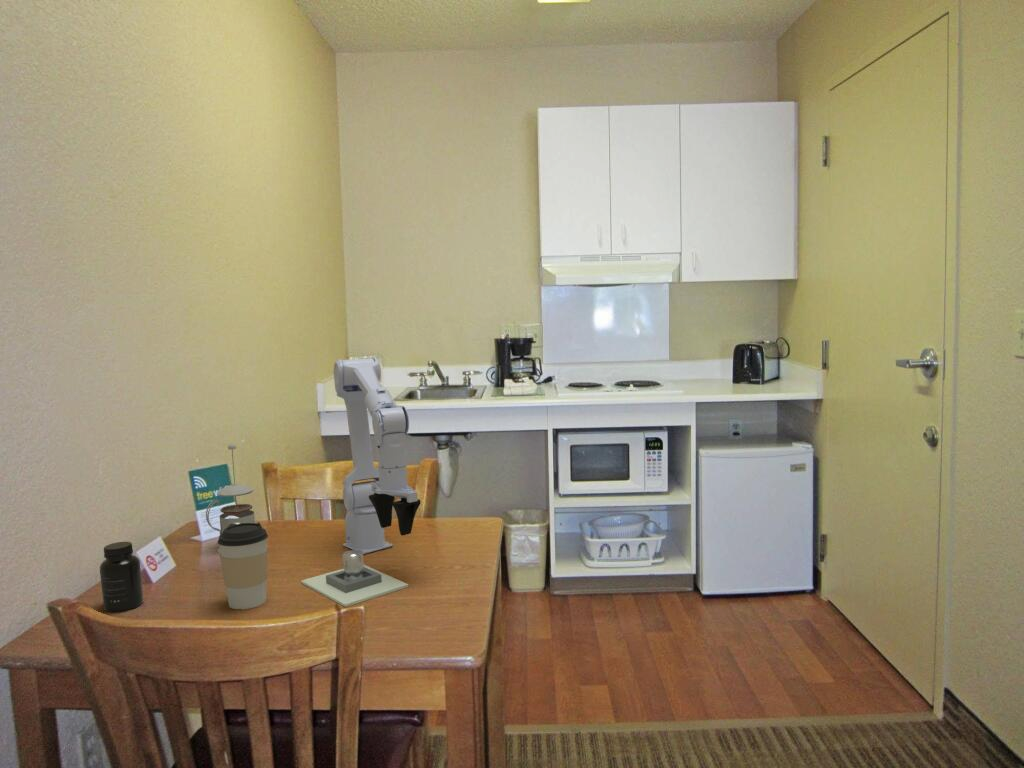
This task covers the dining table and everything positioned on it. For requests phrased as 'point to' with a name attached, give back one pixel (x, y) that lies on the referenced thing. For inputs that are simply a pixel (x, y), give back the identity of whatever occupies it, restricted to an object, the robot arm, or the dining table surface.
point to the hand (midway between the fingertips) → (395, 530)
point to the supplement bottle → (120, 578)
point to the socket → (354, 586)
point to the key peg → (353, 565)
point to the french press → (233, 510)
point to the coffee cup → (244, 564)
